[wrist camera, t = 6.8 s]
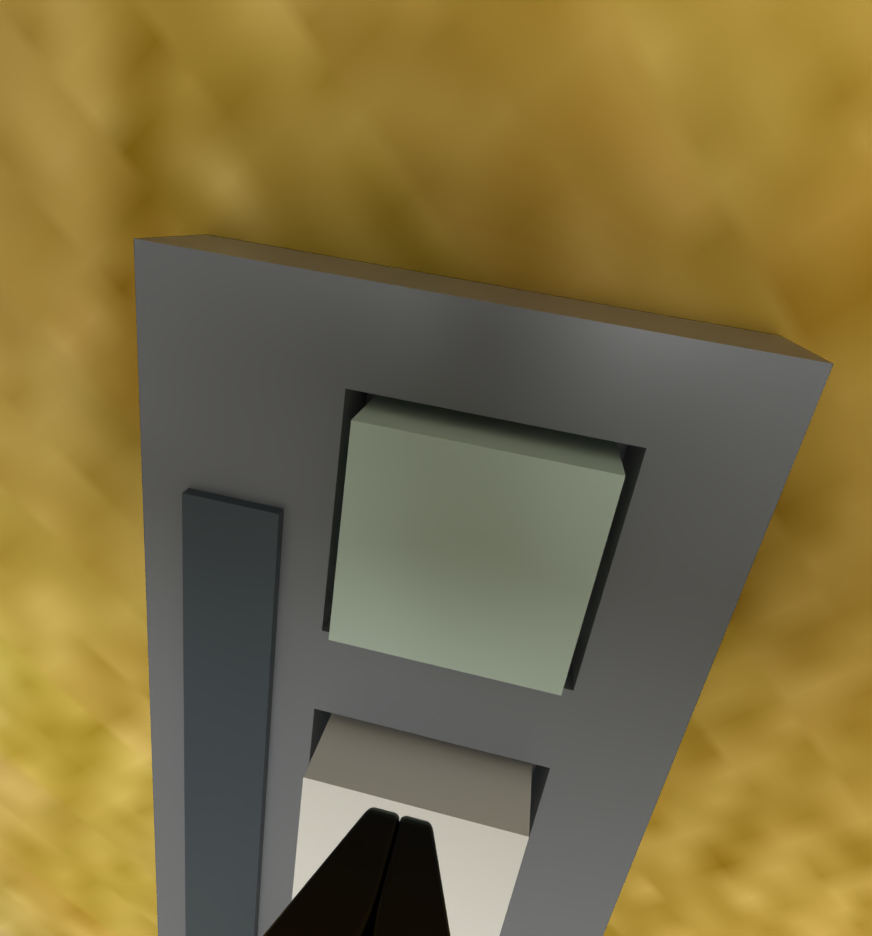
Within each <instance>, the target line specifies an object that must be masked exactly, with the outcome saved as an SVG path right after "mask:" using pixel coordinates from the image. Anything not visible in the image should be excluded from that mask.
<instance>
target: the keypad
mask: <svg viewBox="0 0 872 936" xmlns="http://www.w3.org/2000/svg"><path fill="white" fill-rule="evenodd" d="M134 259H135V287H136V316H137V344H138V373H139V401H140V430H141V458H142V487H143V515H144V544H145V572H146V601H147V629H148V658H149V686H150V715H151V743H152V772H153V800H154V828H155V857H156V885H157V914H158V936H263V935H264V934H265V932H266V931H267V930H268V929H269V928H270V926H271V925H272V924H273V923H274V921H275V920H276V919H277V918H278V917H279V915H280V914H281V913H282V912H283V911H284V909H285V908H286V907H287V906H288V905H289V903H290V902H291V901H292V892H293V882H294V871H295V860H296V849H297V839H298V828H299V817H300V807H301V796H302V785H303V777H304V774H305V772H306V770H307V768H308V765H309V763H310V761H311V759H312V757H313V754H314V752H315V750H316V748H317V745H318V743H319V741H320V739H321V736H322V734H323V732H324V730H325V727H326V725H327V723H328V721H329V718H330V716H331V714H332V713H334V714H338V715H342V716H346V717H349V718H353V719H357V720H361V721H365V722H369V723H373V724H377V725H381V726H385V727H389V728H393V729H397V730H401V731H405V732H409V733H413V734H417V735H421V736H425V737H429V738H433V739H437V740H441V741H445V742H449V743H452V744H456V745H460V746H464V747H468V748H472V749H476V750H480V751H484V752H488V753H492V754H496V755H500V756H504V757H508V758H512V759H516V760H520V761H524V762H528V763H532V779H531V804H530V828H529V839H528V842H527V846H526V849H525V852H524V856H523V859H522V862H521V866H520V869H519V872H518V876H517V879H516V882H515V886H514V889H513V892H512V896H511V899H510V902H509V905H508V909H507V912H506V915H505V919H504V922H503V925H502V929H501V932H500V935H499V936H603V934H604V931H605V929H606V926H607V924H608V922H609V919H610V917H611V914H612V912H613V909H614V907H615V904H616V902H617V899H618V897H619V894H620V892H621V889H622V887H623V884H624V882H625V879H626V877H627V874H628V872H629V869H630V867H631V865H632V862H633V860H634V857H635V855H636V852H637V850H638V847H639V845H640V842H641V840H642V837H643V835H644V832H645V830H646V827H647V825H648V822H649V820H650V817H651V815H652V812H653V810H654V807H655V805H656V803H657V800H658V798H659V795H660V793H661V790H662V788H663V785H664V783H665V780H666V778H667V775H668V773H669V770H670V768H671V765H672V763H673V760H674V758H675V755H676V753H677V750H678V748H679V745H680V743H681V741H682V738H683V736H684V733H685V731H686V728H687V726H688V723H689V721H690V718H691V716H692V713H693V711H694V708H695V706H696V703H697V701H698V698H699V696H700V693H701V691H702V688H703V686H704V684H705V681H706V679H707V676H708V674H709V671H710V669H711V666H712V664H713V661H714V659H715V656H716V654H717V651H718V649H719V646H720V644H721V641H722V639H723V636H724V634H725V631H726V629H727V626H728V624H729V622H730V619H731V617H732V614H733V612H734V609H735V607H736V604H737V602H738V599H739V597H740V594H741V592H742V589H743V587H744V584H745V582H746V579H747V577H748V574H749V572H750V569H751V567H752V564H753V562H754V560H755V557H756V555H757V552H758V550H759V547H760V545H761V542H762V540H763V537H764V535H765V532H766V530H767V527H768V525H769V522H770V520H771V517H772V515H773V512H774V510H775V507H776V505H777V503H778V500H779V498H780V495H781V493H782V490H783V488H784V485H785V483H786V480H787V478H788V475H789V473H790V470H791V468H792V465H793V463H794V460H795V458H796V455H797V453H798V450H799V448H800V445H801V443H802V441H803V438H804V436H805V433H806V431H807V428H808V426H809V423H810V421H811V418H812V416H813V413H814V411H815V408H816V406H817V403H818V401H819V398H820V396H821V393H822V391H823V388H824V386H825V384H826V381H827V379H828V376H829V374H830V371H831V369H832V366H833V363H831V362H829V361H827V360H825V359H823V358H821V357H820V356H818V355H816V354H814V353H812V352H810V351H808V350H806V349H804V348H803V347H801V346H799V345H797V344H795V343H793V342H791V341H789V340H788V339H786V338H784V337H782V336H779V335H773V334H768V333H762V332H756V331H751V330H745V329H739V328H734V327H728V326H722V325H717V324H711V323H705V322H700V321H694V320H688V319H683V318H677V317H671V316H666V315H660V314H654V313H649V312H643V311H637V310H632V309H626V308H620V307H615V306H609V305H603V304H598V303H592V302H586V301H581V300H575V299H569V298H564V297H558V296H552V295H547V294H541V293H535V292H530V291H524V290H518V289H513V288H507V287H501V286H496V285H490V284H484V283H479V282H473V281H467V280H462V279H456V278H450V277H445V276H439V275H433V274H427V273H422V272H416V271H410V270H405V269H399V268H393V267H388V266H382V265H376V264H371V263H365V262H359V261H354V260H348V259H342V258H337V257H331V256H325V255H320V254H314V253H308V252H303V251H297V250H291V249H286V248H280V247H274V246H269V245H263V244H257V243H252V242H246V241H240V240H235V239H229V238H223V237H218V236H212V235H188V236H170V237H152V238H134ZM376 395H381V396H386V397H391V398H396V399H401V400H406V401H411V402H416V403H421V404H426V405H431V406H436V407H441V408H446V409H451V410H457V411H462V412H467V413H472V414H477V415H482V416H487V417H492V418H497V419H502V420H507V421H512V422H517V423H522V424H527V425H532V426H537V427H542V428H547V429H553V430H558V431H563V432H568V433H573V434H578V435H583V436H588V437H593V438H598V439H603V440H608V441H613V442H616V443H617V446H618V450H619V454H620V457H621V461H622V465H623V468H624V472H625V479H624V483H623V486H622V490H621V493H620V497H619V500H618V503H617V507H616V510H615V514H614V517H613V520H612V524H611V527H610V531H609V534H608V538H607V541H606V544H605V548H604V551H603V555H602V558H601V561H600V565H599V568H598V572H597V575H596V578H595V582H594V585H593V589H592V592H591V596H590V599H589V602H588V606H587V609H586V613H585V616H584V619H583V623H582V626H581V630H580V633H579V637H578V640H577V643H576V647H575V650H574V654H573V657H572V660H571V664H570V667H569V671H568V674H567V677H566V681H565V684H564V688H563V691H562V695H561V696H560V695H556V694H552V693H548V692H544V691H540V690H535V689H531V688H527V687H523V686H519V685H515V684H510V683H506V682H502V681H498V680H494V679H490V678H486V677H481V676H477V675H473V674H469V673H465V672H461V671H456V670H452V669H448V668H444V667H440V666H436V665H431V664H427V663H423V662H419V661H415V660H411V659H406V658H402V657H398V656H394V655H390V654H386V653H381V652H377V651H373V650H369V649H365V648H361V647H356V646H352V645H348V644H344V643H340V642H336V641H332V640H329V630H330V621H331V611H332V601H333V591H334V582H335V572H336V562H337V553H338V543H339V533H340V523H341V514H342V504H343V494H344V484H345V475H346V465H347V455H348V446H349V436H350V426H351V420H352V419H353V418H354V417H355V416H356V415H357V414H358V413H359V412H360V411H361V410H362V409H363V408H364V407H365V406H366V405H367V404H368V403H369V402H370V401H371V400H372V399H373V398H374V397H375V396H376Z"/></svg>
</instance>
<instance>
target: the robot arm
mask: <svg viewBox="0 0 872 936" xmlns="http://www.w3.org/2000/svg"><path fill="white" fill-rule="evenodd" d="M263 936H451V935H450V929H449V923H448V917H447V911H446V905H445V899H444V893H443V887H442V881H441V875H440V868H439V862H438V856H437V850H436V844H435V838H434V832H433V828H432V825H431V824H430V823H429V822H428V821H425V820H421V819H417V818H414V817H410V816H403V817H402V818H401V819H400V821H399V816H398V814H397V813H395V812H391V811H387V810H384V809H380V808H376V807H372V808H369V809H368V810H367V811H366V812H365V813H364V814H363V815H362V816H361V818H360V819H359V820H358V821H357V822H356V824H355V825H354V826H353V827H352V828H351V830H350V831H349V832H348V833H347V834H346V836H345V837H344V838H343V839H342V840H341V842H340V843H339V844H338V845H337V847H336V848H335V849H334V850H333V851H332V853H331V854H330V855H329V856H328V857H327V859H326V860H325V861H324V862H323V863H322V865H321V866H320V867H319V868H318V869H317V871H316V872H315V873H314V874H313V876H312V877H311V878H310V879H309V880H308V882H307V883H306V884H305V885H304V886H303V888H302V889H301V890H300V891H299V892H298V894H297V895H296V896H295V897H294V898H293V900H292V901H291V902H290V903H289V905H288V906H287V907H286V908H285V909H284V911H283V912H282V913H281V914H280V915H279V917H278V918H277V919H276V920H275V921H274V923H273V924H272V925H271V926H270V928H269V929H268V930H267V931H266V932H265V934H264V935H263Z"/></svg>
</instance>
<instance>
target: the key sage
mask: <svg viewBox="0 0 872 936" xmlns="http://www.w3.org/2000/svg"><path fill="white" fill-rule="evenodd" d="M624 479H625V472H624V468H623V465H622V461H621V457H620V454H619V450H618V446H617V443H616V442H613V441H608V440H603V439H598V438H593V437H588V436H583V435H578V434H573V433H568V432H563V431H558V430H553V429H547V428H542V427H537V426H532V425H527V424H522V423H517V422H512V421H507V420H502V419H497V418H492V417H487V416H482V415H477V414H472V413H467V412H462V411H457V410H451V409H446V408H441V407H436V406H431V405H426V404H421V403H416V402H411V401H406V400H401V399H396V398H391V397H386V396H381V395H376V396H375V397H374V398H373V399H372V400H371V401H370V402H369V403H368V404H367V405H366V406H365V407H364V408H363V409H362V410H361V411H360V412H359V413H358V414H357V415H356V416H355V417H354V418H353V419H352V420H351V426H350V436H349V446H348V455H347V465H346V475H345V484H344V494H343V504H342V514H341V523H340V533H339V543H338V553H337V562H336V572H335V582H334V591H333V601H332V611H331V621H330V630H329V640H332V641H336V642H340V643H344V644H348V645H352V646H356V647H361V648H365V649H369V650H373V651H377V652H381V653H386V654H390V655H394V656H398V657H402V658H406V659H411V660H415V661H419V662H423V663H427V664H431V665H436V666H440V667H444V668H448V669H452V670H456V671H461V672H465V673H469V674H473V675H477V676H481V677H486V678H490V679H494V680H498V681H502V682H506V683H510V684H515V685H519V686H523V687H527V688H531V689H535V690H540V691H544V692H548V693H552V694H556V695H560V696H561V695H562V691H563V688H564V684H565V681H566V677H567V674H568V671H569V667H570V664H571V660H572V657H573V654H574V650H575V647H576V643H577V640H578V637H579V633H580V630H581V626H582V623H583V619H584V616H585V613H586V609H587V606H588V602H589V599H590V596H591V592H592V589H593V585H594V582H595V578H596V575H597V572H598V568H599V565H600V561H601V558H602V555H603V551H604V548H605V544H606V541H607V538H608V534H609V531H610V527H611V524H612V520H613V517H614V514H615V510H616V507H617V503H618V500H619V497H620V493H621V490H622V486H623V483H624Z"/></svg>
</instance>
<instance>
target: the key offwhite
mask: <svg viewBox="0 0 872 936" xmlns="http://www.w3.org/2000/svg"><path fill="white" fill-rule="evenodd" d="M531 779H532V763H528V762H524V761H520V760H516V759H512V758H508V757H504V756H500V755H496V754H492V753H488V752H484V751H480V750H476V749H472V748H468V747H464V746H460V745H456V744H452V743H449V742H445V741H441V740H437V739H433V738H429V737H425V736H421V735H417V734H413V733H409V732H405V731H401V730H397V729H393V728H389V727H385V726H381V725H377V724H373V723H369V722H365V721H361V720H357V719H353V718H349V717H346V716H342V715H338V714H334V713H332V714H331V716H330V718H329V721H328V723H327V725H326V727H325V730H324V732H323V734H322V736H321V739H320V741H319V743H318V745H317V748H316V750H315V752H314V754H313V757H312V759H311V761H310V763H309V765H308V768H307V770H306V772H305V774H304V777H303V785H302V796H301V807H300V817H299V828H298V839H297V849H296V860H295V871H294V882H293V892H292V900H293V898H294V897H295V896H296V895H297V894H298V892H299V891H300V890H301V889H302V888H303V886H304V885H305V884H306V883H307V882H308V880H309V879H310V878H311V877H312V876H313V874H314V873H315V872H316V871H317V869H318V868H319V867H320V866H321V865H322V863H323V862H324V861H325V860H326V859H327V857H328V856H329V855H330V854H331V853H332V851H333V850H334V849H335V848H336V847H337V845H338V844H339V843H340V842H341V840H342V839H343V838H344V837H345V836H346V834H347V833H348V832H349V831H350V830H351V828H352V827H353V826H354V825H355V824H356V822H357V821H358V820H359V819H360V818H361V816H362V815H363V814H364V813H365V812H366V811H367V810H368V809H369V808H372V807H376V808H380V809H384V810H387V811H391V812H395V813H397V814H398V816H399V821H400V819H401V818H402V817H403V816H410V817H414V818H417V819H421V820H425V821H428V822H429V823H430V824H431V825H432V828H433V832H434V838H435V844H436V850H437V856H438V862H439V868H440V875H441V881H442V887H443V893H444V899H445V905H446V911H447V917H448V923H449V929H450V935H451V936H499V935H500V932H501V929H502V925H503V922H504V919H505V915H506V912H507V909H508V905H509V902H510V899H511V896H512V892H513V889H514V886H515V882H516V879H517V876H518V872H519V869H520V866H521V862H522V859H523V856H524V852H525V849H526V846H527V842H528V839H529V828H530V804H531Z"/></svg>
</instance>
